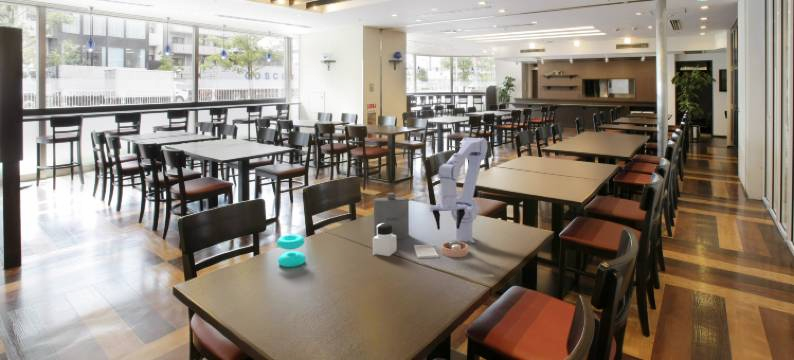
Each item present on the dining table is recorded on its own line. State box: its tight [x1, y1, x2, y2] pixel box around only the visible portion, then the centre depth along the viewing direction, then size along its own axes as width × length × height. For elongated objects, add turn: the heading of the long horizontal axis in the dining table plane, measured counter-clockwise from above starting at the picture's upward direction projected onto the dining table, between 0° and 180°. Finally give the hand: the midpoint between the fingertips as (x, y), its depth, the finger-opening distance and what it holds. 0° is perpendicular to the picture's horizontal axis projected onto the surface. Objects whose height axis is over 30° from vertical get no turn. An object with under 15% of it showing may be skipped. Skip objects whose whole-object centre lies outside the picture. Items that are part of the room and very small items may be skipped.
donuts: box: [276, 233, 307, 268], centre depth 171 cm, size 10×10×10 cm
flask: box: [373, 192, 410, 240], centre depth 197 cm, size 15×6×20 cm, turn 99°
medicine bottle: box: [372, 223, 397, 257], centre depth 180 cm, size 7×7×12 cm
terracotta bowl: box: [440, 241, 469, 258], centre depth 179 cm, size 10×10×4 cm
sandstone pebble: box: [451, 244, 461, 250], centre depth 177 cm, size 4×4×4 cm
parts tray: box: [413, 244, 440, 259], centre depth 180 cm, size 12×8×2 cm, turn 5°
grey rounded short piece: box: [448, 240, 460, 249], centre depth 181 cm, size 4×4×4 cm
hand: (448, 228), depth 181 cm, fingers open, 7 cm apart
